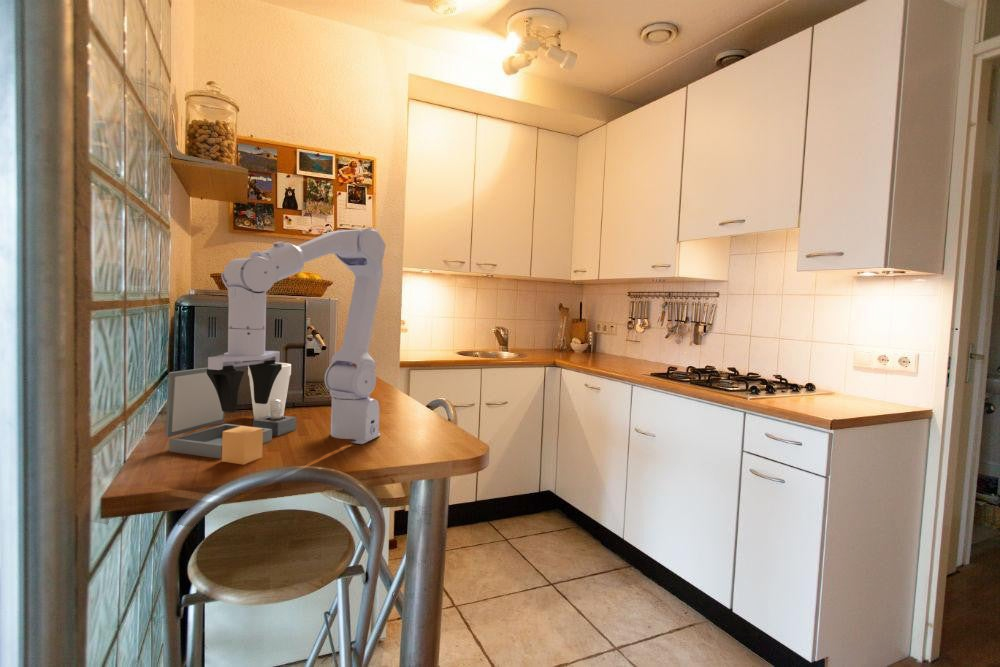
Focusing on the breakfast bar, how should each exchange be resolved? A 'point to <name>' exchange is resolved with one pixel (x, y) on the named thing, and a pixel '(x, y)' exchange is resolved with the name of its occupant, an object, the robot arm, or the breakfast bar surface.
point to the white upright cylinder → (275, 409)
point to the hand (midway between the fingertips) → (245, 407)
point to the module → (242, 444)
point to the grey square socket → (277, 424)
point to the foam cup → (272, 391)
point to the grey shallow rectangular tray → (207, 441)
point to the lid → (191, 402)
